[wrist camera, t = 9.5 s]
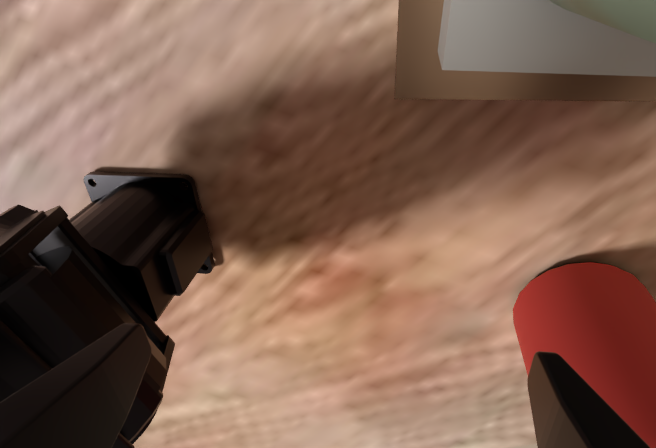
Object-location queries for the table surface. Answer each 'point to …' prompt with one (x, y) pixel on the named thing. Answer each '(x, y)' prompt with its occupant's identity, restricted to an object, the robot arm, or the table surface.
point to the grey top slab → (537, 40)
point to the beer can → (596, 334)
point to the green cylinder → (618, 14)
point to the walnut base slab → (434, 83)
